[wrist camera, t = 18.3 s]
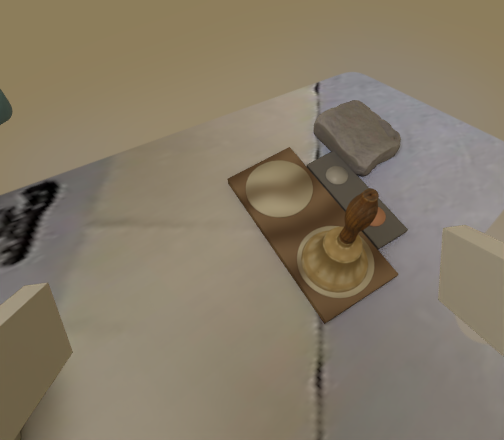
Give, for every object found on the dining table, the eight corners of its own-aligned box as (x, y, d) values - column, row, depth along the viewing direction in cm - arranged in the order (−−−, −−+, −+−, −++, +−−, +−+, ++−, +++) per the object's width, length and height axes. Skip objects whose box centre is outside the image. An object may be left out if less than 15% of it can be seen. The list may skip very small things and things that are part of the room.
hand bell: (377, 247, 41) (433, 174, 27) (353, 305, 38) (403, 255, 24) (317, 221, 43) (340, 140, 29) (290, 273, 40) (301, 210, 26)
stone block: (349, 116, 57) (306, 133, 53) (360, 92, 53) (314, 109, 49) (398, 162, 52) (354, 184, 48) (414, 140, 48) (369, 162, 44)
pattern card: (306, 168, 49) (307, 164, 49) (332, 153, 50) (333, 149, 50) (376, 250, 43) (379, 247, 42) (405, 232, 44) (408, 228, 43)
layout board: (228, 183, 49) (227, 177, 48) (289, 152, 51) (289, 145, 50) (324, 323, 39) (326, 321, 37) (395, 277, 41) (399, 273, 40)
